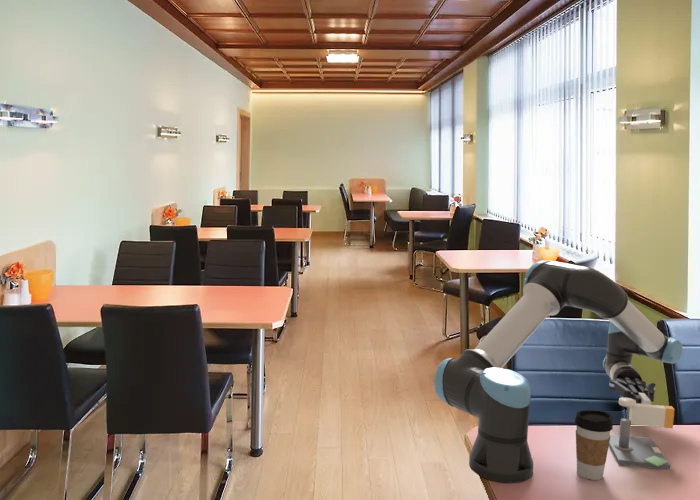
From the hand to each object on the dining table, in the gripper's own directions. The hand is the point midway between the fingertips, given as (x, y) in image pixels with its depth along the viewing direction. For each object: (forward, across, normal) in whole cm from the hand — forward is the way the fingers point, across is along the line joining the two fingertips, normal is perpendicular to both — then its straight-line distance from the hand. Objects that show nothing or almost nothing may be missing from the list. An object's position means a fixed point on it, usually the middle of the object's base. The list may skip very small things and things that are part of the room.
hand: (647, 405), depth 165 cm
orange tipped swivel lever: (+7, +3, -9) cm, 12 cm away
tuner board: (+7, +4, -10) cm, 13 cm away
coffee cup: (+22, +18, -11) cm, 31 cm away
